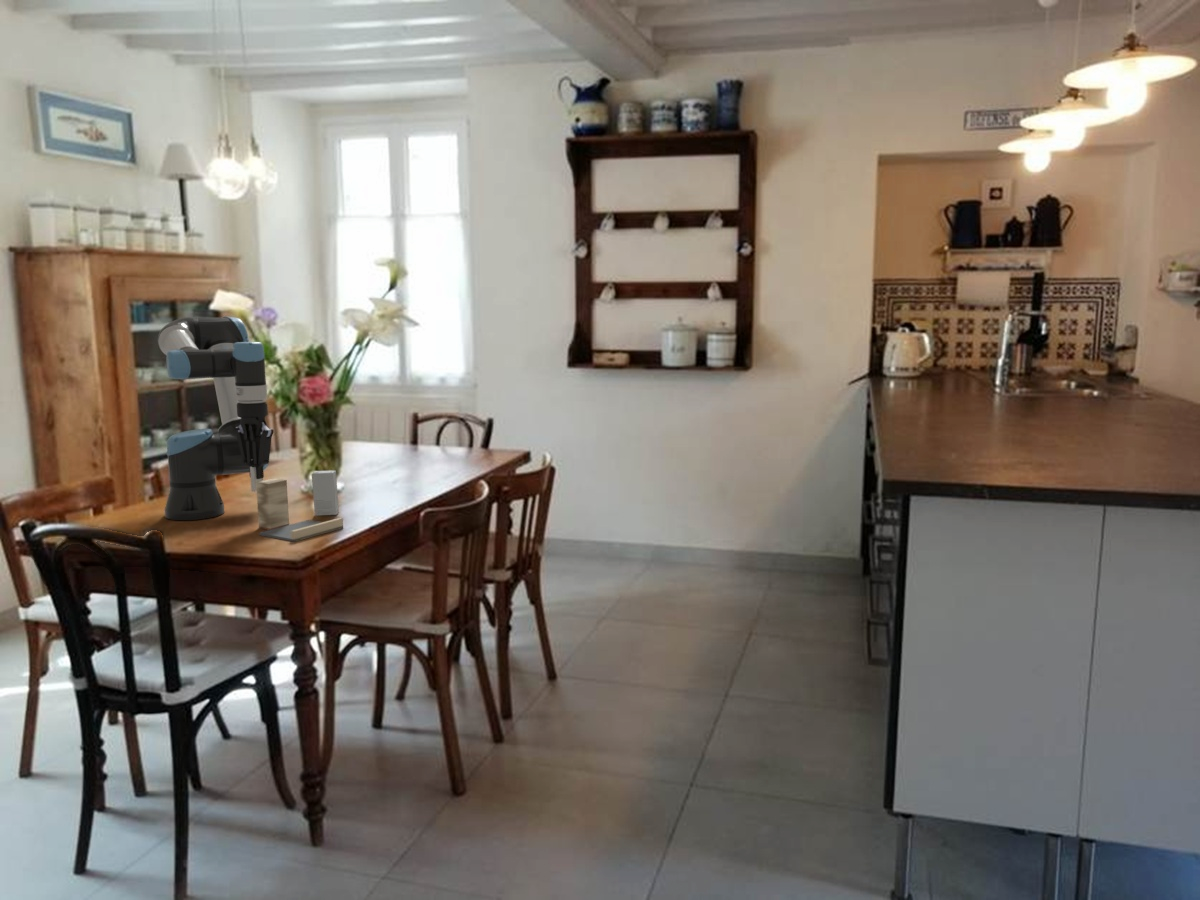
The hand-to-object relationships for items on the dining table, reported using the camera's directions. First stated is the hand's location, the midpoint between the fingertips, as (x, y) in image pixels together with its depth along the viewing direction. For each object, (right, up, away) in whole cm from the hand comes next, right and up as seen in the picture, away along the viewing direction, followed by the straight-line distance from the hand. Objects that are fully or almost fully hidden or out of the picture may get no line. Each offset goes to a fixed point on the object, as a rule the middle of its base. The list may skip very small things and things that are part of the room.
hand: (257, 490), depth 240 cm
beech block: (+5, -9, -1) cm, 11 cm away
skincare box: (+14, -7, +13) cm, 21 cm away
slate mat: (+14, -10, -6) cm, 18 cm away
